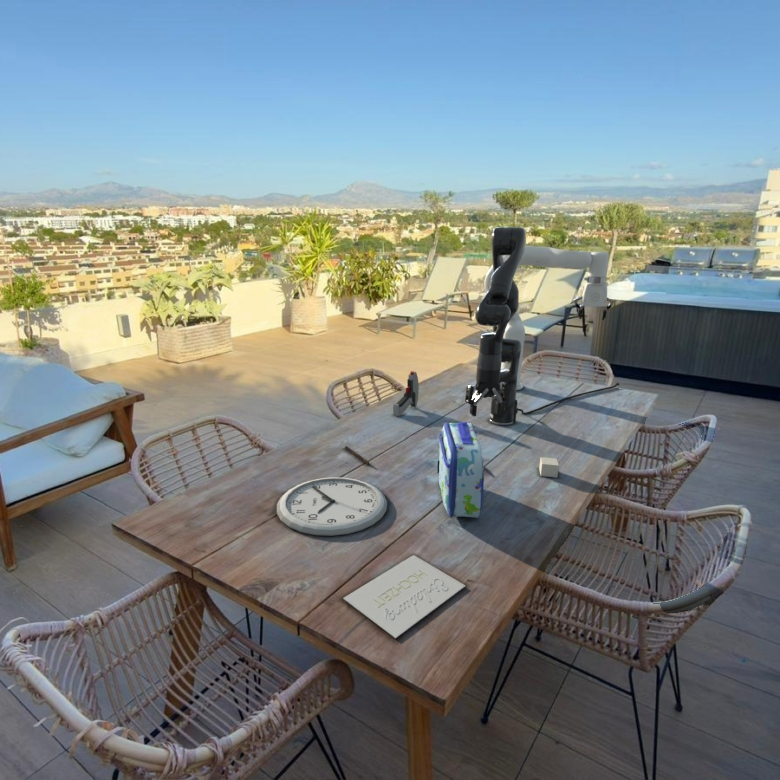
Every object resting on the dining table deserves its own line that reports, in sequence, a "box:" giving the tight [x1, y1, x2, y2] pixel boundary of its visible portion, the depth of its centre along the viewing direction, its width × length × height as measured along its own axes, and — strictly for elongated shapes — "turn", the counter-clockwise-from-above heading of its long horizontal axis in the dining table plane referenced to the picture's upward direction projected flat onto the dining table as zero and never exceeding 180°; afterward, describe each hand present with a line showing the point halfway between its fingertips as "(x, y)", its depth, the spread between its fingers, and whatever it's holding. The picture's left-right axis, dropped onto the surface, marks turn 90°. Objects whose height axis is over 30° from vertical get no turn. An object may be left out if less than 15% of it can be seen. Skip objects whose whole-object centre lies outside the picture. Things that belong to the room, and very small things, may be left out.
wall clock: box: [276, 476, 388, 537], centre depth 142 cm, size 30×2×30 cm
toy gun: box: [392, 370, 420, 417], centre depth 214 cm, size 2×16×15 cm
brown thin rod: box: [344, 445, 370, 465], centre depth 173 cm, size 15×1×1 cm, turn 34°
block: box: [538, 456, 560, 478], centre depth 163 cm, size 5×5×4 cm
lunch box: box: [436, 421, 485, 519], centre depth 143 cm, size 26×11×21 cm, turn 179°
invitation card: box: [343, 554, 466, 639], centre depth 109 cm, size 21×1×15 cm
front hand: (485, 414), depth 171 cm, fingers open, 8 cm apart
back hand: (591, 319), depth 236 cm, fingers open, 9 cm apart
